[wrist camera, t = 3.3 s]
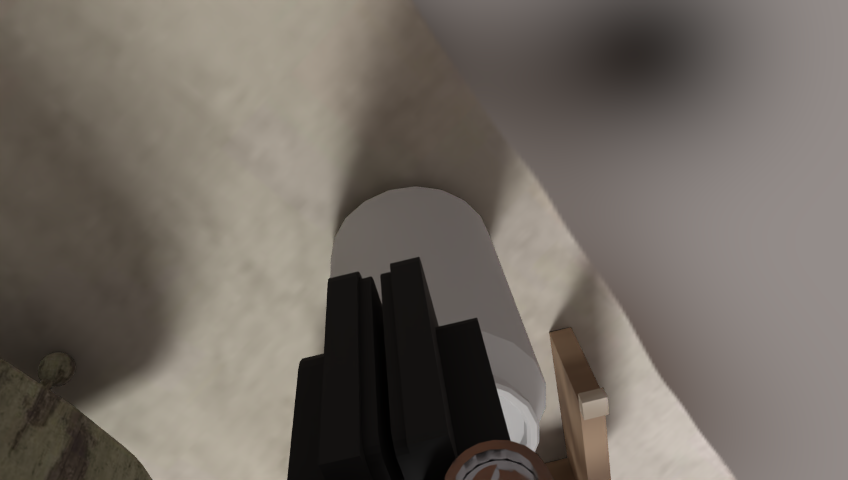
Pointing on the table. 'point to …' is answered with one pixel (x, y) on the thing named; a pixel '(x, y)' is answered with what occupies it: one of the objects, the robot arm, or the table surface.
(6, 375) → the tabletop clock
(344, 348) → the robot arm
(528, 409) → the can
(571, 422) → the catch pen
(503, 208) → the table surface
